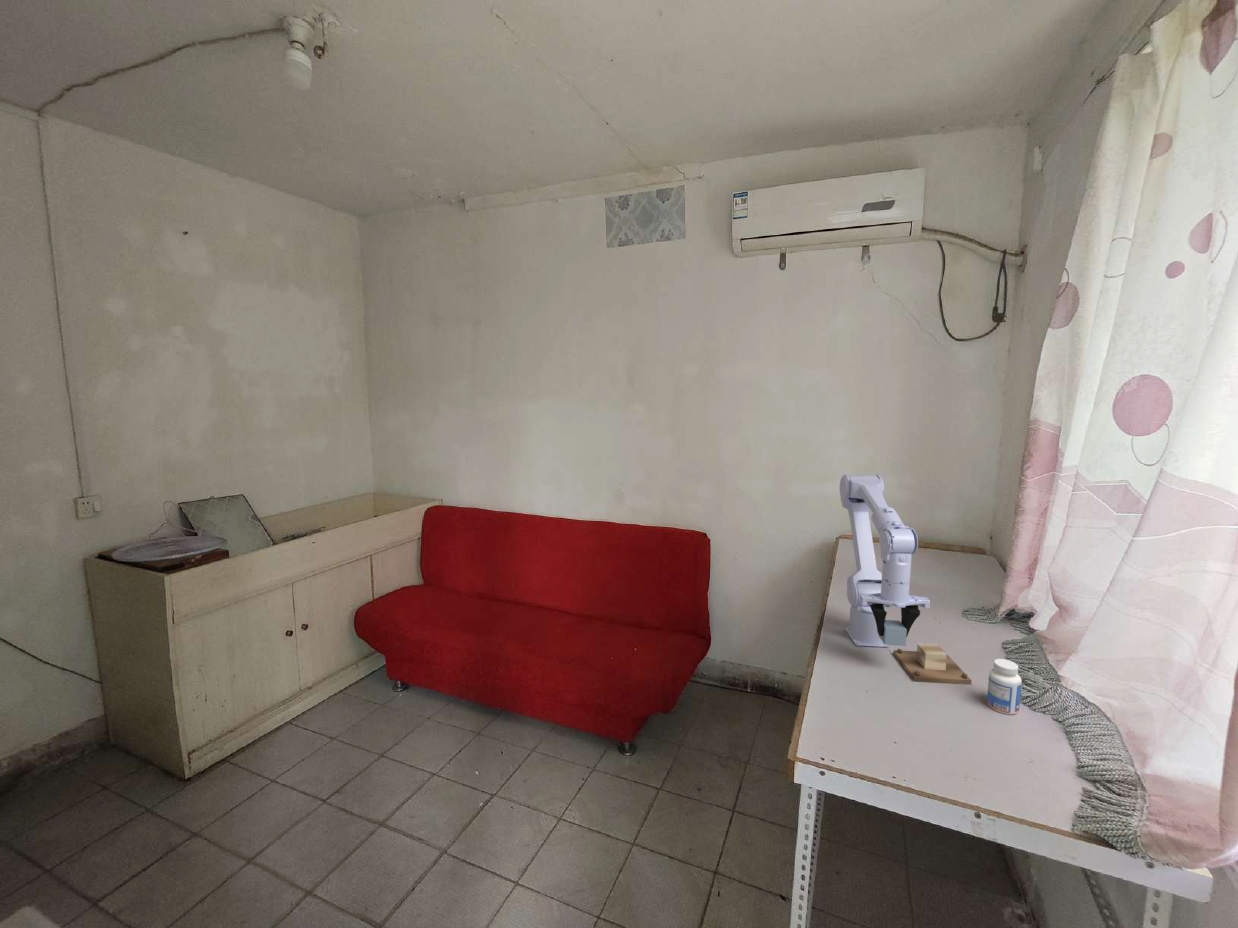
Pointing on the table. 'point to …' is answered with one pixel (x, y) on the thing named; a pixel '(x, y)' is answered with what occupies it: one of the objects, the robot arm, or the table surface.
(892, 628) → the slate block
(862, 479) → the robot arm
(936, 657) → the birch block
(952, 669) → the base plate
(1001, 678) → the pill bottle
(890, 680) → the table surface
